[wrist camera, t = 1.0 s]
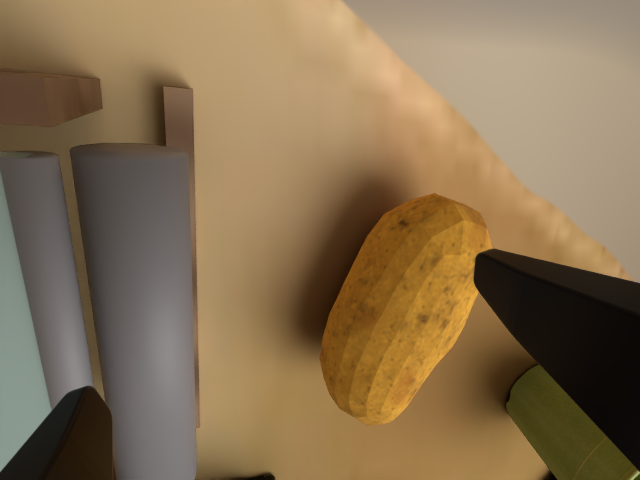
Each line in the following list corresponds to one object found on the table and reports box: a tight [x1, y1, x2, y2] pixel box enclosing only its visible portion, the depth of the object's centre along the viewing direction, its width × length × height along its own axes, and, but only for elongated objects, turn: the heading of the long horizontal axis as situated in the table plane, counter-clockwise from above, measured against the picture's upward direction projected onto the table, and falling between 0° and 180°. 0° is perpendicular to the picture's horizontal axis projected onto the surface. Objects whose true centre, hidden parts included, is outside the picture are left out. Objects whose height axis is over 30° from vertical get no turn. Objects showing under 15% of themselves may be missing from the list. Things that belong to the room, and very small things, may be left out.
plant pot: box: [506, 365, 640, 480], centre depth 33 cm, size 12×12×11 cm
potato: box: [320, 193, 492, 425], centre depth 22 cm, size 7×14×7 cm, turn 153°
